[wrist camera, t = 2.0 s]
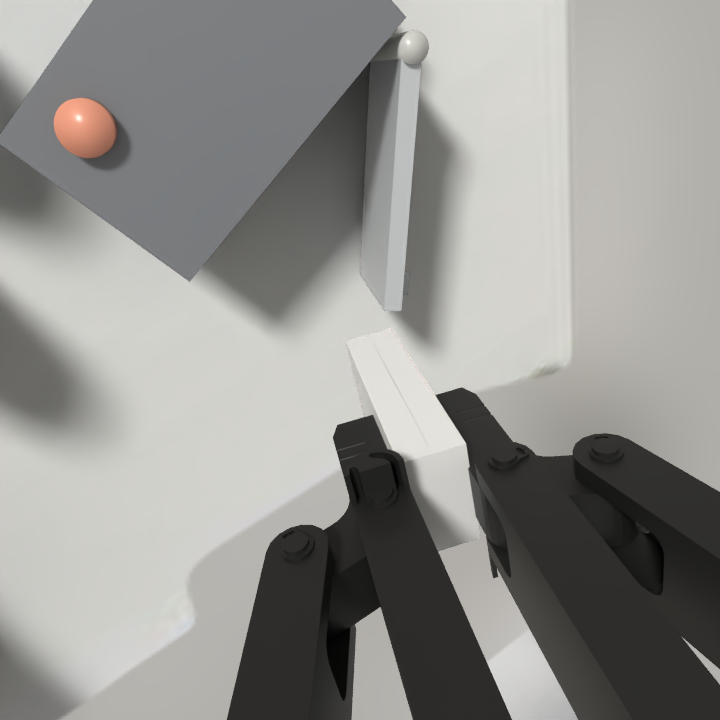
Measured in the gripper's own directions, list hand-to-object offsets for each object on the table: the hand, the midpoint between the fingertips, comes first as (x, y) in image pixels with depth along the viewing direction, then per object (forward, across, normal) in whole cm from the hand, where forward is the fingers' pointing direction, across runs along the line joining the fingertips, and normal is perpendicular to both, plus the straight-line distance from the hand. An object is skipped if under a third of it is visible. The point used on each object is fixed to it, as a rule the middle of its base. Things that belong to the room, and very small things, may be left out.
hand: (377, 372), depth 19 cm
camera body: (+22, -3, +9) cm, 24 cm away
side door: (+21, +5, +2) cm, 22 cm away
